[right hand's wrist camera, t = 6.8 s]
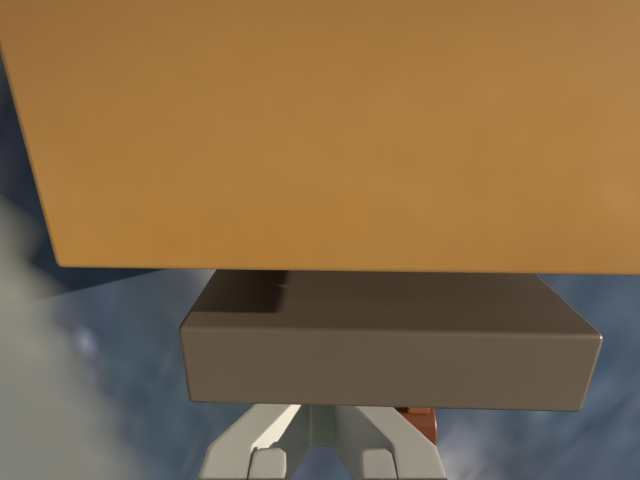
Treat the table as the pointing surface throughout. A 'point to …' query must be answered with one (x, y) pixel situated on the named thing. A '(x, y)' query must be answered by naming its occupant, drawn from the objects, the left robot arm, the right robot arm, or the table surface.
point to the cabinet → (332, 133)
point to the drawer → (388, 342)
